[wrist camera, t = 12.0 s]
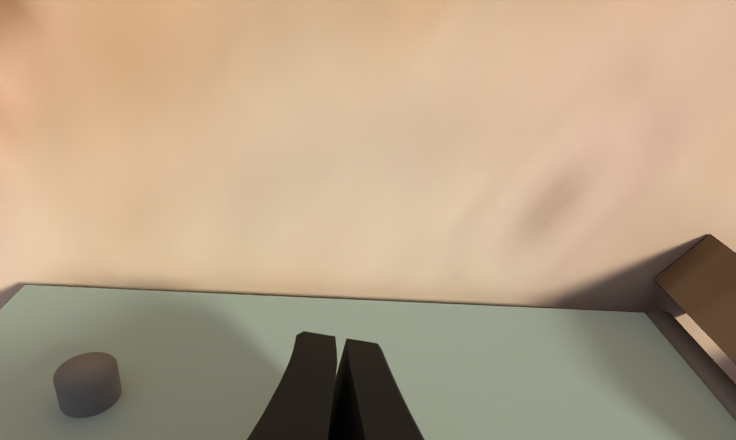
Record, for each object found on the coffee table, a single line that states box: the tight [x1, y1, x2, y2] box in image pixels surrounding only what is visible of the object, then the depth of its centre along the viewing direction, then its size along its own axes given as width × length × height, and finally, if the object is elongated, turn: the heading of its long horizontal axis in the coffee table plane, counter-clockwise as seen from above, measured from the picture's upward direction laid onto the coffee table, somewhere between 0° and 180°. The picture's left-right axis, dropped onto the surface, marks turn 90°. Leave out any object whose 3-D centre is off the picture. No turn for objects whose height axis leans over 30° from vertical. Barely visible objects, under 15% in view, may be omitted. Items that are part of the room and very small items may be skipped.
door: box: [0, 285, 736, 440], centre depth 12 cm, size 19×2×7 cm, turn 86°
